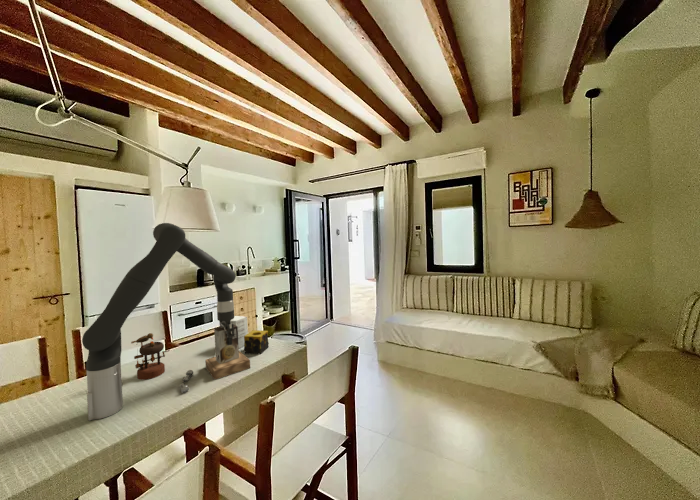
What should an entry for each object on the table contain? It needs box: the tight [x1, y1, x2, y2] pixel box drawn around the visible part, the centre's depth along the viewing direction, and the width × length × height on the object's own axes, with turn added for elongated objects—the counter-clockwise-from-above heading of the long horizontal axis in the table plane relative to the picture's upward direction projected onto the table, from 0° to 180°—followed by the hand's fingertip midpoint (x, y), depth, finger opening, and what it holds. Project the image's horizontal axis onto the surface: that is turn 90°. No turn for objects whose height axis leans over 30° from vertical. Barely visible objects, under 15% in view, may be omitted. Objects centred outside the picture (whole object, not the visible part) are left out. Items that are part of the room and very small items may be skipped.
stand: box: [205, 350, 251, 380], centre depth 131 cm, size 16×16×4 cm
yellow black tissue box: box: [243, 329, 270, 355], centre depth 152 cm, size 10×10×10 cm
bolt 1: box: [182, 369, 194, 383], centre depth 121 cm, size 6×3×3 cm, turn 11°
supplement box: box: [231, 315, 249, 349], centre depth 159 cm, size 10×9×17 cm
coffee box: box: [213, 324, 240, 364], centre depth 131 cm, size 9×6×16 cm
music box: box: [130, 332, 170, 381], centre depth 127 cm, size 15×11×20 cm
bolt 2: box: [179, 382, 190, 394], centre depth 111 cm, size 6×3×3 cm, turn 41°
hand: (226, 342), depth 131 cm, fingers open, 8 cm apart
